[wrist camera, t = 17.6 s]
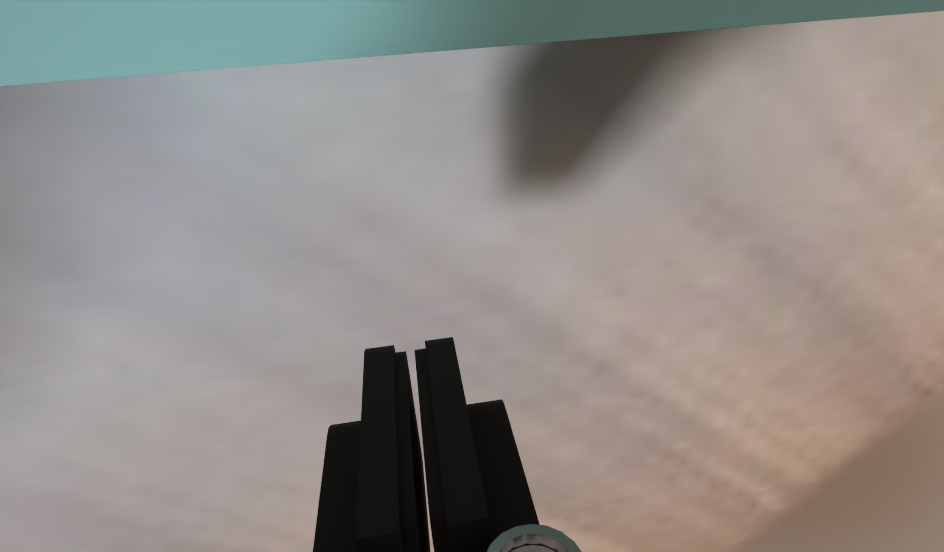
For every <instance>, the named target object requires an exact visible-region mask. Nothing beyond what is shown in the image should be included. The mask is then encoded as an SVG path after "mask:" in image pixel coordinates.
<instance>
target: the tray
mask: <svg viewBox="0 0 944 552" xmlns="http://www.w3.org/2000/svg"><path fill="white" fill-rule="evenodd" d="M933 11H944V0H0V86H10V85H22V84H35V83H47V82H60V81H72V80H84V79H97V78H109V77H122V76H134V75H147V74H159V73H172V72H184V71H197V70H209V69H222V68H234V67H247V66H259V65H272V64H284V63H297V62H309V61H322V60H334V59H346V58H359V57H371V56H384V55H396V54H409V53H421V52H434V51H446V50H459V49H471V48H484V47H496V46H509V45H521V44H534V43H546V42H559V41H571V40H583V39H596V38H608V37H621V36H633V35H646V34H658V33H671V32H683V31H696V30H708V29H721V28H733V27H746V26H758V25H771V24H783V23H796V22H808V21H821V20H833V19H845V18H858V17H870V16H883V15H895V14H908V13H920V12H933Z"/></svg>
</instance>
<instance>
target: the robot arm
mask: <svg viewBox="0 0 944 552" xmlns="http://www.w3.org/2000/svg"><path fill="white" fill-rule="evenodd" d="M425 345H426V349H419V350H415V359H416V370H417V382H418V393H419V404H420V415H421V426H422V438H423V449H424V460H425V471H426V482H427V494H428V505H429V515H430V523H431V532H432V539H433V545H434V552H581V550H580V549H579V548H578V546H577V545H576V544H575V542H574V541H573V540H571V539H570V538H569V537H567V536H566V535H565V534H563V533H562V532H561V531H558V530H556V529H553V528H551V527H548V526H544V525H539V521H538V518H537V514H536V511H535V508H534V504H533V501H532V497H531V494H530V491H529V487H528V484H527V480H526V477H525V473H524V470H523V467H522V463H521V460H520V456H519V453H518V449H517V446H516V443H515V439H514V436H513V432H512V429H511V426H510V422H509V419H508V415H507V412H506V408H505V406H504V403H503V401H502V400H495V401H489V402H482V403H475V404H469V405H466V400H465V395H464V390H463V385H462V380H461V375H460V370H459V365H458V360H457V355H456V350H455V345H454V340H453V337H450V338H443V339H436V340H428V341H425ZM313 552H430V542H429V530H428V518H427V506H426V495H425V483H424V471H423V462H422V454H421V447H420V440H419V434H418V427H417V420H416V414H415V407H414V401H413V394H412V387H411V381H410V374H409V368H408V361H407V355H406V351H404V352H397V353H395V348H394V345H392V346H385V347H378V348H370V349H365V353H364V372H363V392H362V413H361V421H355V422H349V423H342V424H336V425H330V427H329V429H328V434H327V442H326V450H325V458H324V466H323V474H322V482H321V490H320V499H319V507H318V515H317V523H316V531H315V539H314V548H313Z"/></svg>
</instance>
